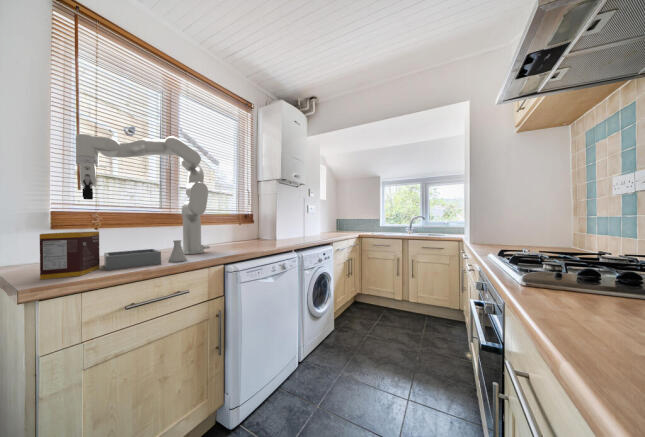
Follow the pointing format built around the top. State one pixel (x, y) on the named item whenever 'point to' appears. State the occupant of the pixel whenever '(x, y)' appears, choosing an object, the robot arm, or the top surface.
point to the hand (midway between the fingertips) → (87, 198)
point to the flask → (177, 252)
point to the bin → (131, 258)
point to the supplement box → (68, 254)
